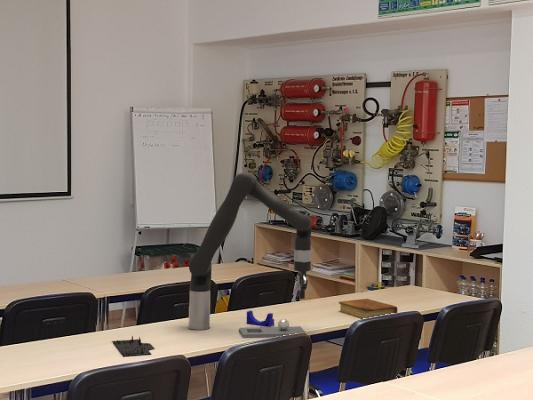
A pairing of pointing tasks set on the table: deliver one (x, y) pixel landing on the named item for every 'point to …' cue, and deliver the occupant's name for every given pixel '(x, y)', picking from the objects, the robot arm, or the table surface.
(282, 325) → the steel ball
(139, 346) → the circuit board
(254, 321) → the cable clip
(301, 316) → the table surface
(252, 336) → the pocket slab
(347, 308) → the diary
